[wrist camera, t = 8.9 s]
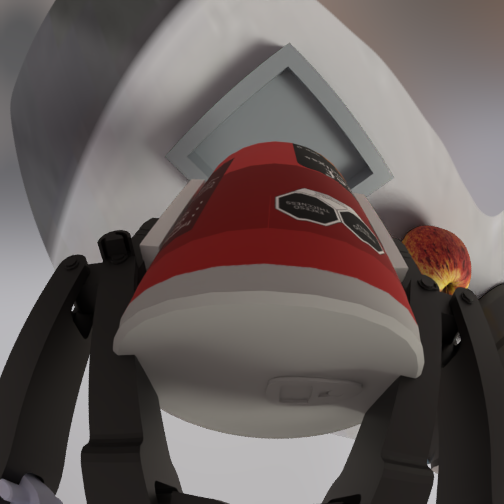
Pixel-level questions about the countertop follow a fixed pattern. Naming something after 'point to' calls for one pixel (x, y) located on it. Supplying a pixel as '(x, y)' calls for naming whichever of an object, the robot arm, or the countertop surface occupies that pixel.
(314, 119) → the tray
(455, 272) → the apple
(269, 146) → the canned food
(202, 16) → the countertop surface
